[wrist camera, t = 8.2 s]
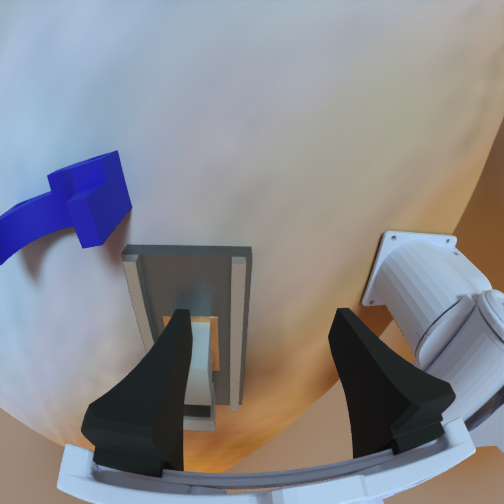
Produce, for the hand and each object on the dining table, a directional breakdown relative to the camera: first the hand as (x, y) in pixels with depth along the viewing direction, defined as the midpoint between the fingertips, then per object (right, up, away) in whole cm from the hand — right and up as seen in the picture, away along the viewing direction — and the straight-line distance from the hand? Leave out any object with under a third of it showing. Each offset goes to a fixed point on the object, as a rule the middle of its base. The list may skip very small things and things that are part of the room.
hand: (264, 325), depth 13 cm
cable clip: (-16, +8, +5) cm, 19 cm away
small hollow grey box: (-7, -12, +16) cm, 21 cm away
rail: (-6, -6, +14) cm, 16 cm away
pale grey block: (-6, -5, +12) cm, 14 cm away
